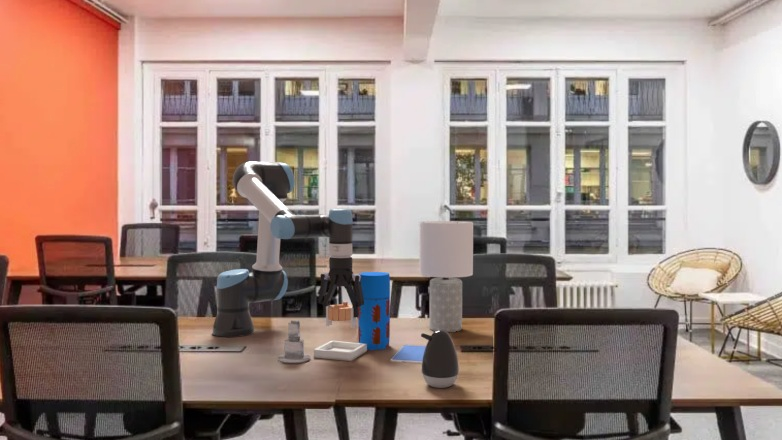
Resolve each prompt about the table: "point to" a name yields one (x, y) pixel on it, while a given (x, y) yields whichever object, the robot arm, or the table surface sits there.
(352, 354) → the tray
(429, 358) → the pump dispenser
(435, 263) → the lamp
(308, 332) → the table surface
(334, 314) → the ring
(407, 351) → the tablet computer
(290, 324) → the grey stepped cylinder
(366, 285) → the thermos
